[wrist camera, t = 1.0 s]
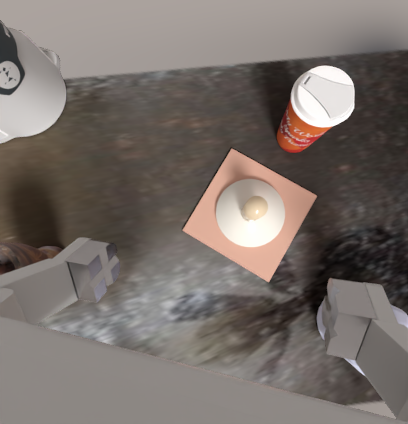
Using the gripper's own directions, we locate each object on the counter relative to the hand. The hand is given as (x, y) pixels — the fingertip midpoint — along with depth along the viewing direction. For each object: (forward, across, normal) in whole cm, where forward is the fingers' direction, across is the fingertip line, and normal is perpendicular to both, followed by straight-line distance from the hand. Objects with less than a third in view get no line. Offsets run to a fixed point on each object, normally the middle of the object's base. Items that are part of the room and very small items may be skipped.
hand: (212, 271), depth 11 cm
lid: (+32, +2, +14) cm, 35 cm away
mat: (+33, +2, +15) cm, 36 cm away
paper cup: (+42, -4, +4) cm, 42 cm away
